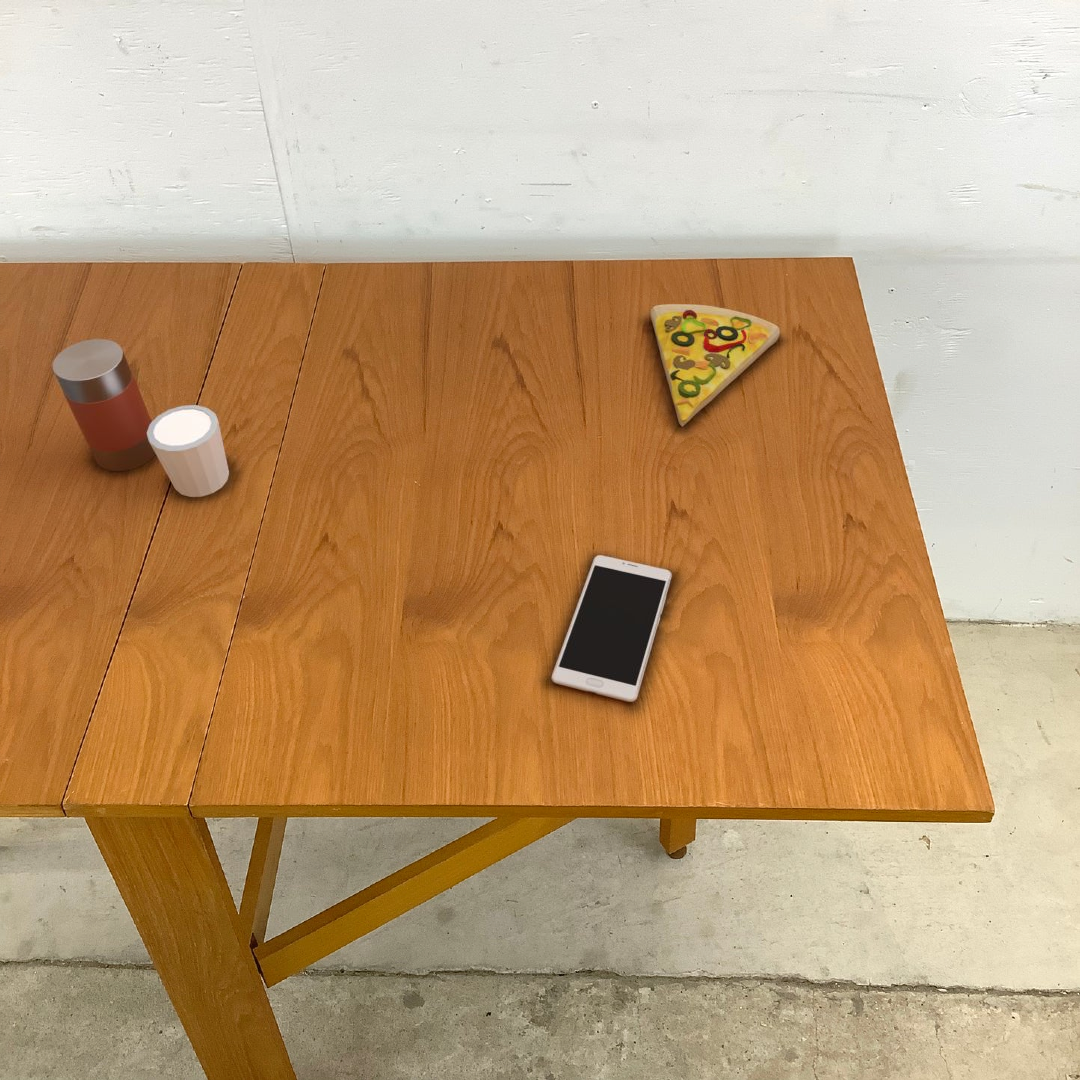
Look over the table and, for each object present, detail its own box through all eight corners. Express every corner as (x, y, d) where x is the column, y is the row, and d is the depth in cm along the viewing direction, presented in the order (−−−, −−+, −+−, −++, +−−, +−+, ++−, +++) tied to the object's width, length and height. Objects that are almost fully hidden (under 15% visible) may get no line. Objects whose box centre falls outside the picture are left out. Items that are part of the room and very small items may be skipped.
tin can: (81, 460, 103) (36, 369, 95) (125, 422, 107) (86, 331, 99) (129, 479, 101) (88, 388, 92) (173, 440, 105) (138, 349, 96)
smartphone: (549, 679, 83) (595, 552, 93) (549, 684, 84) (595, 557, 93) (636, 701, 82) (673, 570, 91) (635, 705, 82) (672, 574, 92)
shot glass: (220, 504, 99) (201, 453, 94) (156, 497, 99) (134, 446, 94) (244, 458, 103) (228, 407, 98) (183, 452, 104) (163, 401, 99)
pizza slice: (780, 331, 117) (784, 310, 115) (751, 442, 104) (755, 421, 102) (654, 309, 121) (655, 288, 118) (610, 414, 107) (611, 393, 105)
